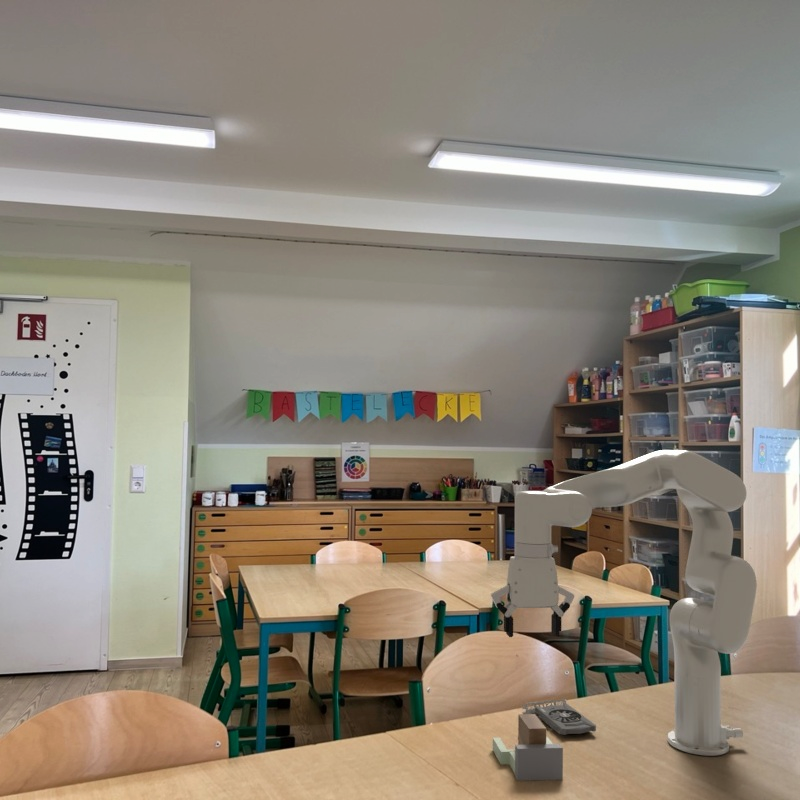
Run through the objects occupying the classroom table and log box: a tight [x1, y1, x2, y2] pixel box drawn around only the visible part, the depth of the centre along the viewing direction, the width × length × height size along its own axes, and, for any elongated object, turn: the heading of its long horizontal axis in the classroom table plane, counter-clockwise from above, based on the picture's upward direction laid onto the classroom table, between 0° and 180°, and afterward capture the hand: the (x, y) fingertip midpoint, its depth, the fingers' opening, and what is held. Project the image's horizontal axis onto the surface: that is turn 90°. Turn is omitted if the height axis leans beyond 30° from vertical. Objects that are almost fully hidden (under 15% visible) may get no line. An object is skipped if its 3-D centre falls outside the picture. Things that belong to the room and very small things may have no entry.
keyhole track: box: [492, 736, 564, 782], centre depth 152 cm, size 12×15×6 cm
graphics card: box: [521, 699, 597, 736], centre depth 174 cm, size 17×4×12 cm
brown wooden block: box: [517, 713, 547, 745], centre depth 151 cm, size 4×8×9 cm, turn 6°
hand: (532, 635), depth 152 cm, fingers open, 9 cm apart
